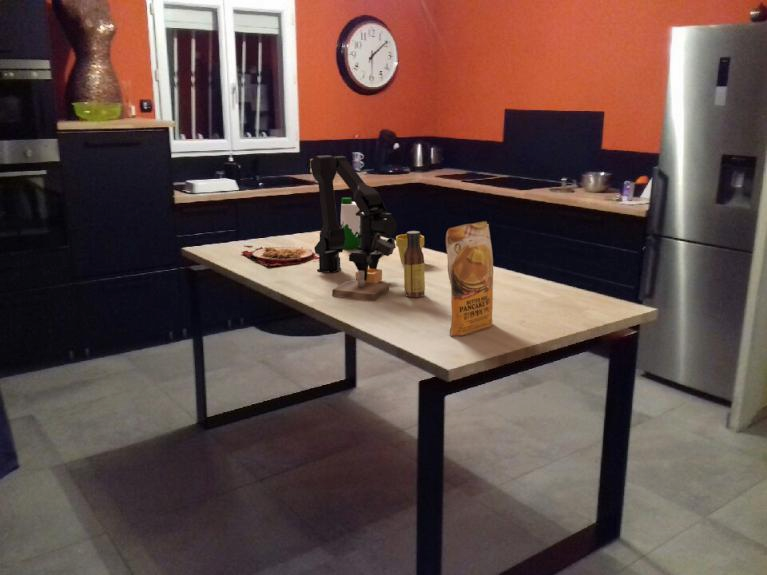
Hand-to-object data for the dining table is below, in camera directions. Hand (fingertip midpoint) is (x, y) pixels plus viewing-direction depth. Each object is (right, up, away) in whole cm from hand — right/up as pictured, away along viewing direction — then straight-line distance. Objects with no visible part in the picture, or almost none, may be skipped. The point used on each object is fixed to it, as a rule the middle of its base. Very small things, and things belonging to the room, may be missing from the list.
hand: (368, 277), depth 229 cm
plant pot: (+14, +6, +27) cm, 31 cm away
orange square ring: (0, -1, 0) cm, 1 cm away
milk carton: (-8, +13, +51) cm, 53 cm away
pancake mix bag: (+27, -14, -45) cm, 54 cm away
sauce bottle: (+14, -6, -14) cm, 21 cm away
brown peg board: (-2, -5, -12) cm, 13 cm away
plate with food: (-33, +8, +35) cm, 49 cm away
